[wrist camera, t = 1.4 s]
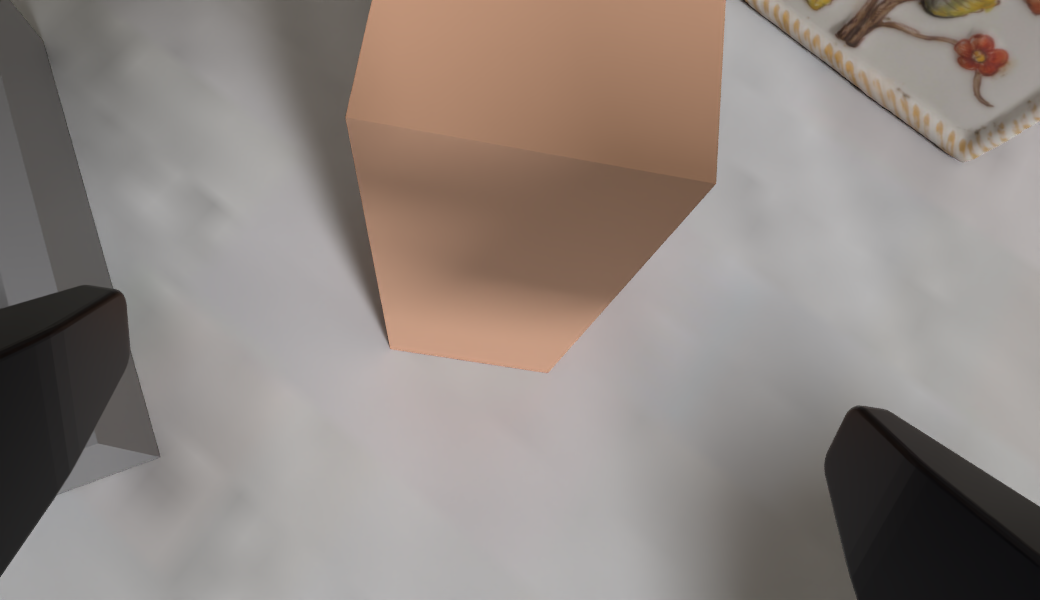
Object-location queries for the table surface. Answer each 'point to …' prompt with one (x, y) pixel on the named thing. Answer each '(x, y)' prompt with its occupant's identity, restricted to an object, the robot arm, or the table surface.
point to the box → (55, 231)
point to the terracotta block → (527, 161)
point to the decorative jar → (930, 61)
